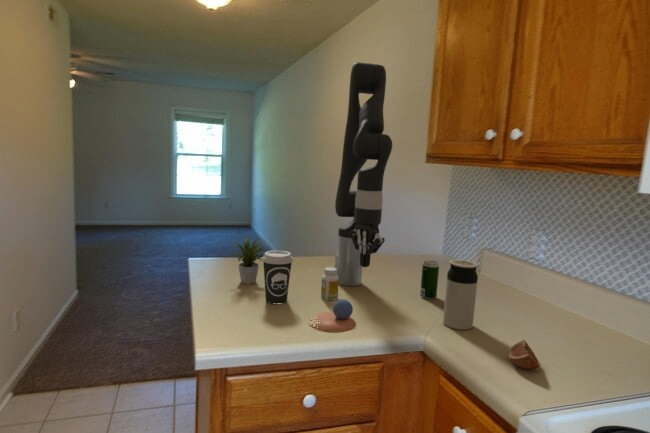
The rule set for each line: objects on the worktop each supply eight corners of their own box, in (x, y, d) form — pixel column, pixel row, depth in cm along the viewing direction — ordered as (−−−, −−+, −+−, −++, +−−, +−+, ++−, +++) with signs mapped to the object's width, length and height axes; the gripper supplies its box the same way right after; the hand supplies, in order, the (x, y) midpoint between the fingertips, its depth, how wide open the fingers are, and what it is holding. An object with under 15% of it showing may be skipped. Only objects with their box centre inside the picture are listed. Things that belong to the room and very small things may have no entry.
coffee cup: (297, 299, 133) (299, 252, 131) (281, 308, 124) (283, 259, 122) (271, 293, 137) (272, 248, 134) (254, 302, 128) (255, 254, 126)
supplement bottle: (339, 296, 137) (341, 267, 135) (334, 302, 132) (336, 272, 130) (324, 294, 138) (325, 265, 137) (318, 299, 133) (319, 269, 132)
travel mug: (468, 333, 113) (475, 268, 110) (439, 325, 117) (445, 262, 114) (475, 323, 119) (481, 262, 117) (447, 317, 124) (453, 257, 121)
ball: (348, 299, 122) (343, 318, 122) (332, 295, 120) (327, 314, 119) (358, 304, 117) (353, 323, 117) (342, 300, 115) (336, 319, 114)
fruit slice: (541, 379, 91) (544, 357, 90) (508, 372, 93) (510, 351, 92) (536, 361, 99) (539, 341, 98) (505, 356, 101) (507, 336, 100)
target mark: (299, 318, 117) (299, 317, 117) (336, 310, 125) (336, 309, 125) (326, 336, 107) (326, 335, 107) (365, 325, 114) (365, 325, 114)
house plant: (256, 292, 138) (257, 243, 135) (219, 285, 142) (219, 238, 139) (275, 280, 151) (276, 235, 148) (240, 275, 155) (241, 231, 153)
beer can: (428, 300, 137) (431, 265, 135) (416, 295, 141) (419, 261, 140) (439, 298, 140) (443, 263, 138) (427, 293, 144) (430, 259, 142)
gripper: (395, 209, 114) (390, 270, 117) (363, 202, 125) (359, 259, 128) (374, 210, 110) (370, 274, 113) (343, 203, 121) (339, 262, 123)
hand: (364, 266), depth 120 cm, fingers closed
